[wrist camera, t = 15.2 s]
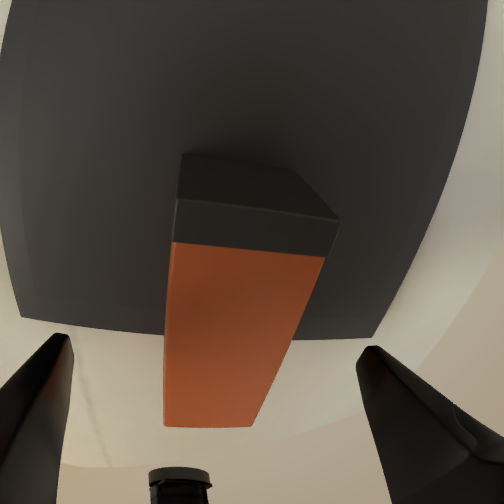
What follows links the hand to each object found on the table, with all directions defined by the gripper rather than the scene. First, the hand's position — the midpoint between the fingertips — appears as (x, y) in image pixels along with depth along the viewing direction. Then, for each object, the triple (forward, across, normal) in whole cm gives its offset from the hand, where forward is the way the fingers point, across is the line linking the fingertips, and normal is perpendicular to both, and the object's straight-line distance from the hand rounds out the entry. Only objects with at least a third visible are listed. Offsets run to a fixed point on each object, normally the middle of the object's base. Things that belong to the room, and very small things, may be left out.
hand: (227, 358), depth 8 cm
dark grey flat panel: (+4, 0, -17) cm, 18 cm away
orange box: (+4, 0, 0) cm, 4 cm away
